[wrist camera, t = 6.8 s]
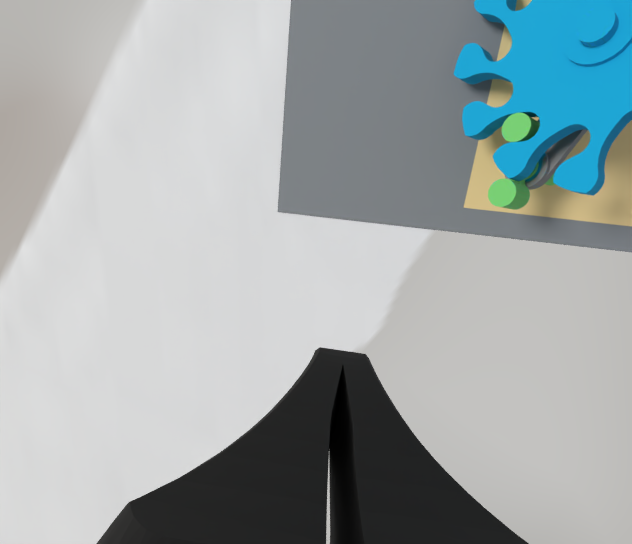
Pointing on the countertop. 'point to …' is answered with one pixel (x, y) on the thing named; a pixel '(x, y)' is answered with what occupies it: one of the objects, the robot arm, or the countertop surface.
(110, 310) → the countertop surface
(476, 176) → the mat
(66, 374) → the countertop surface
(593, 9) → the gear
